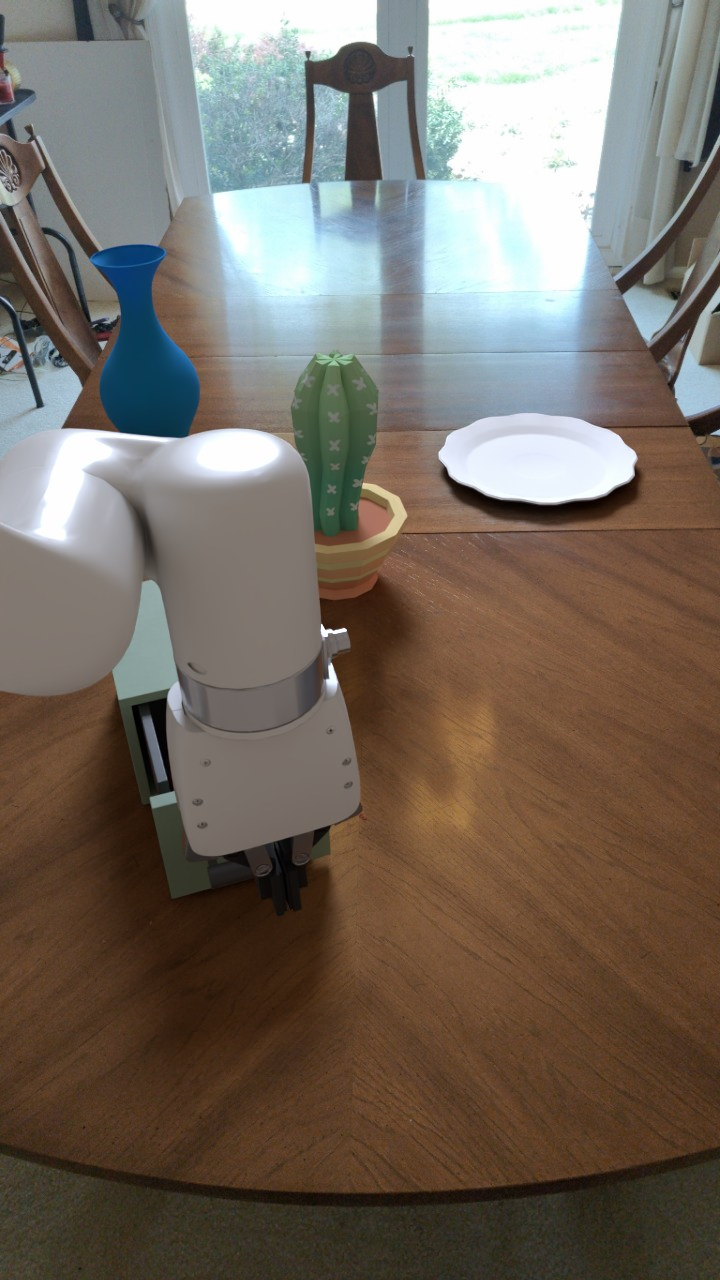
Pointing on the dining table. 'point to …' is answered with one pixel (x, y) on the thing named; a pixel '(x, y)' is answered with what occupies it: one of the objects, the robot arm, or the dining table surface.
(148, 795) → the cabinet
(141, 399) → the vase
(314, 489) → the potted cactus
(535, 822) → the dining table surface
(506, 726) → the dining table surface
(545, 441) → the plate
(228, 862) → the drawer
